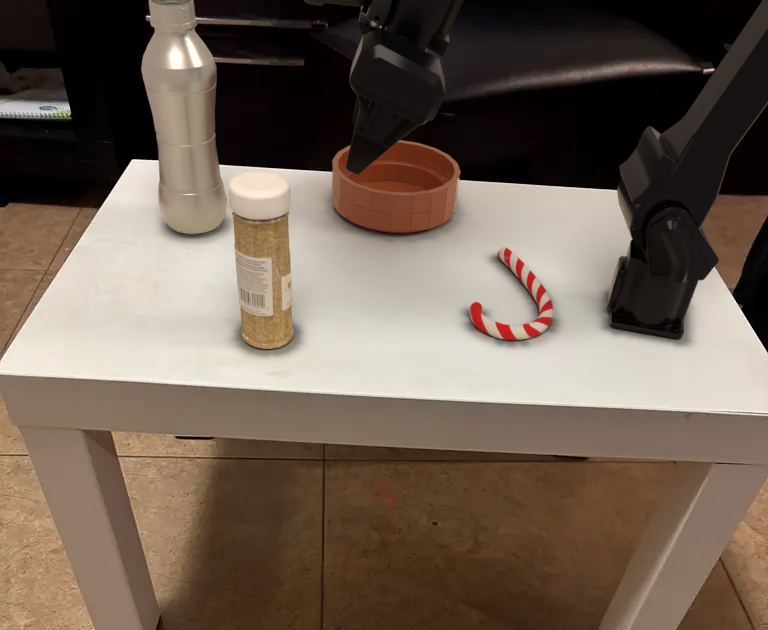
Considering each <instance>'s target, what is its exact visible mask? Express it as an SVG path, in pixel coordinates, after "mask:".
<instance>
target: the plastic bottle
mask: <svg viewBox="0 0 768 630" xmlns="http://www.w3.org/2000/svg"><path fill="white" fill-rule="evenodd" d="M148 6H149V14H150V17H149V23H150V26H151V28H152V27H153V28H154V33H153V35H152V36H151V38H150V41H149V42H148V44H147V45H146V49H145V51H144V53H143V55H142V60H141V61H142V62H141V68H140V69H141V74H142V80H143V83H144V87H145V91H146V95H147V99H148V102H149V106H150V110H151V114H152V119H153V125H154V131H155V133H156V136H155V137H156V142H157V153H158V174H159V175H158V177H159V180H158V186H157V187H158V188H157V204H158V207H159V211H160V213H161V218H162V220H163V221H164V222H165V224H166V225H167V226H168V227H169V228H170V229H172V230H173V231H175V232H178V233H183V234H190V235H191V234H203V233H207V232H210V231H213V230H216V229H217V228H218V227H219V226H220V225H221V224H222V223H223V221H224V219H225V218H226V213H227V203H228V201H227V200H228V199H227V194H226V188H225V184H224V181H223V179H222V176H221V170H220V169H221V168H220V162H219V156H218V151H217V150H218V149H217V143H216V141H217V140H216V132H215V131H216V97H217V95H216V94H217V80H218V79H217V77H218V75H217V74H218V73H217V71H218V70H217V64H216V62H215V59H214V56H213V54H212V53H211V50H210V49H209V48H208V46H207V45H206V43H205V42H204V41H203V39H202V38H201V37H200V36H199V35H198V33H197V32H196V30H195V28H196V27H197V25H198V20H197V19H198V18H197V16H196V12H195V11H196V9H195V2H194V0H148Z"/></svg>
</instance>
